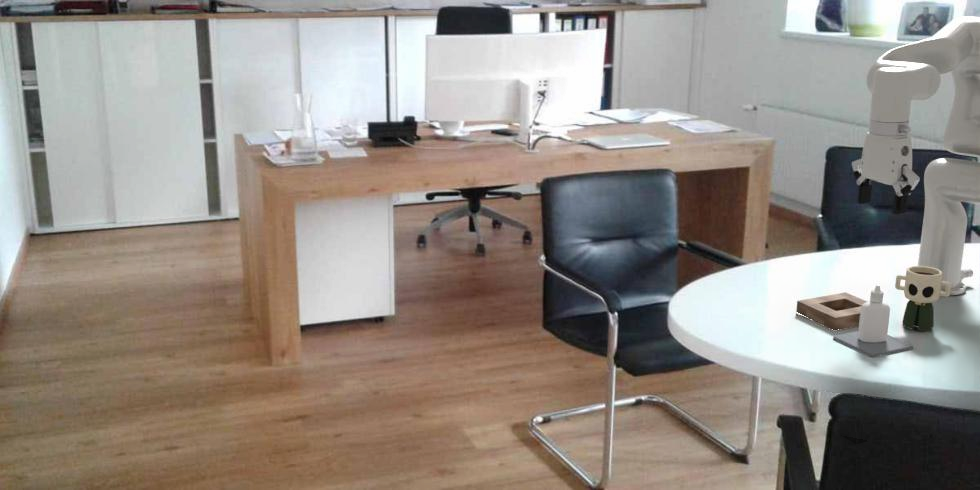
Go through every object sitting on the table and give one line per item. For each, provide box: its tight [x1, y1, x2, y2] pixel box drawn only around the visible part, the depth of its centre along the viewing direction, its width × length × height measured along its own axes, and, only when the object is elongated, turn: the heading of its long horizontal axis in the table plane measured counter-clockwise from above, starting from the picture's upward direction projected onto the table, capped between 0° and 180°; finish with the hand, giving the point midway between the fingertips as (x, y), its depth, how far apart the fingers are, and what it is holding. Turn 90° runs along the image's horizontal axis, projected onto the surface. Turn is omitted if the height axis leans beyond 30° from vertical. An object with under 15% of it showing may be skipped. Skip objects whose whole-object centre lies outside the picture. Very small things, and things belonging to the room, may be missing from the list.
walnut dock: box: [796, 292, 869, 331], centre depth 224 cm, size 14×12×3 cm
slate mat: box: [832, 331, 914, 358], centre depth 210 cm, size 11×11×1 cm
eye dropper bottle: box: [857, 284, 891, 343], centre depth 208 cm, size 4×6×12 cm
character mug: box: [894, 265, 951, 331], centre depth 217 cm, size 11×7×13 cm, turn 59°
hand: (881, 208), depth 214 cm, fingers open, 9 cm apart
